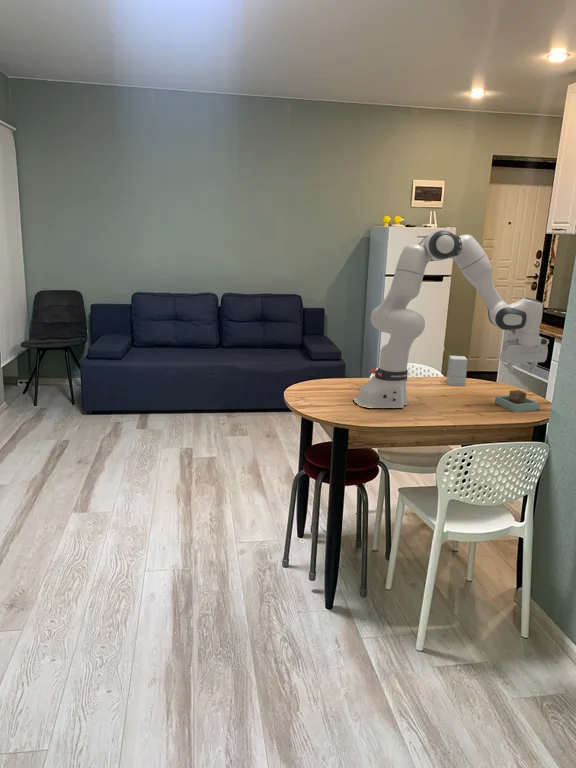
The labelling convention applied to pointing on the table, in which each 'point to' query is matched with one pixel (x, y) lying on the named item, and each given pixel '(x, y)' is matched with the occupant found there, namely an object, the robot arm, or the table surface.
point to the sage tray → (526, 406)
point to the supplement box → (457, 370)
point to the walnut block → (517, 397)
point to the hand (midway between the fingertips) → (520, 373)
